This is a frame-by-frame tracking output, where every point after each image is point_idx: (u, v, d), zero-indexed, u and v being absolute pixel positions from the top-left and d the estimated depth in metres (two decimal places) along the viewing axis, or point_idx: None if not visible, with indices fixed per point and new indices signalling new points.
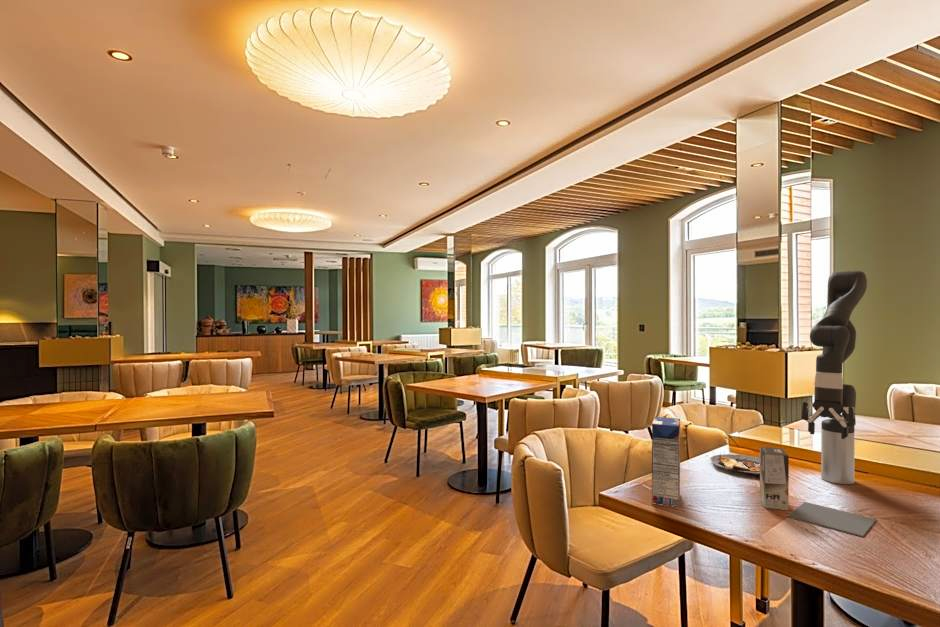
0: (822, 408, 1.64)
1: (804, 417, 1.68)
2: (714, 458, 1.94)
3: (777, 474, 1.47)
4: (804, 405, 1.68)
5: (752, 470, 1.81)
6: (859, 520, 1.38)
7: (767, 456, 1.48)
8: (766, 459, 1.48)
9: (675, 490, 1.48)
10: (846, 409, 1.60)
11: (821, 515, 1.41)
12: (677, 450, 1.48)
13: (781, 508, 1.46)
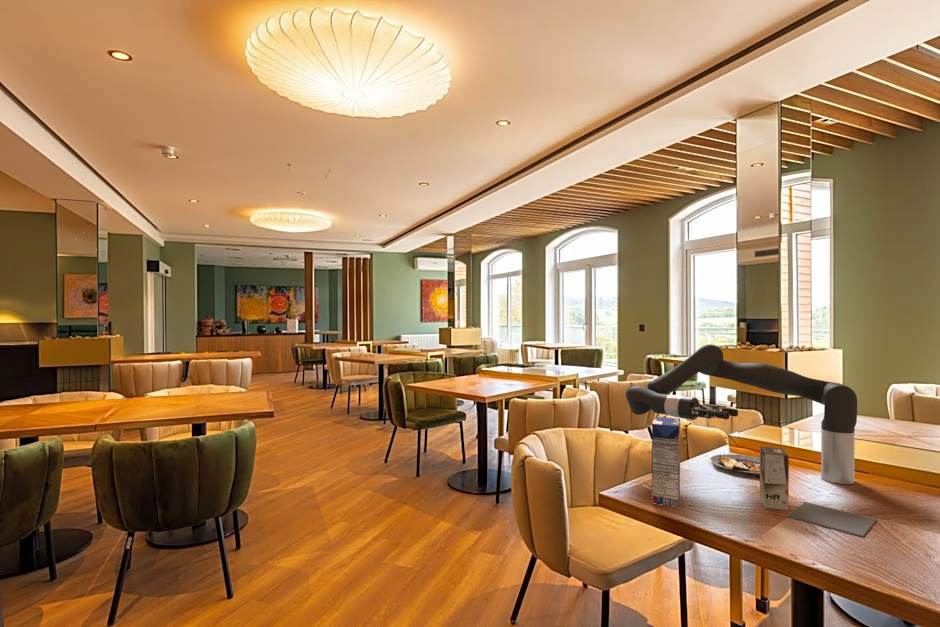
0: None
1: None
2: (714, 458, 1.94)
3: (777, 474, 1.47)
4: None
5: (752, 470, 1.81)
6: (859, 520, 1.38)
7: (767, 456, 1.48)
8: (766, 459, 1.48)
9: (675, 490, 1.48)
10: None
11: (821, 515, 1.41)
12: (677, 450, 1.48)
13: (781, 508, 1.46)
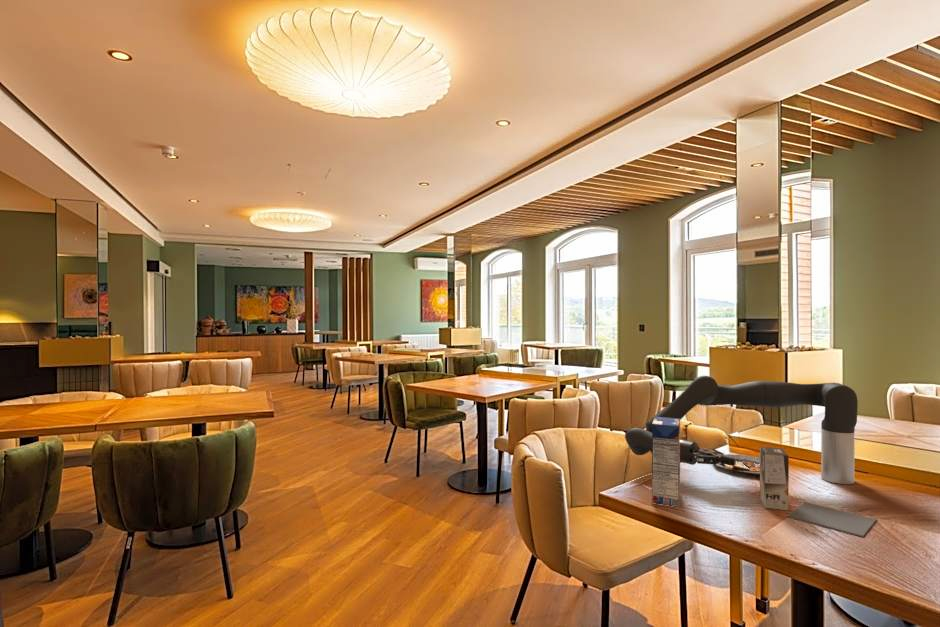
0: None
1: None
2: None
3: (777, 474, 1.47)
4: None
5: (752, 470, 1.81)
6: (859, 520, 1.38)
7: (767, 456, 1.48)
8: (766, 459, 1.48)
9: (675, 490, 1.48)
10: None
11: (821, 515, 1.41)
12: (677, 450, 1.48)
13: (781, 508, 1.46)
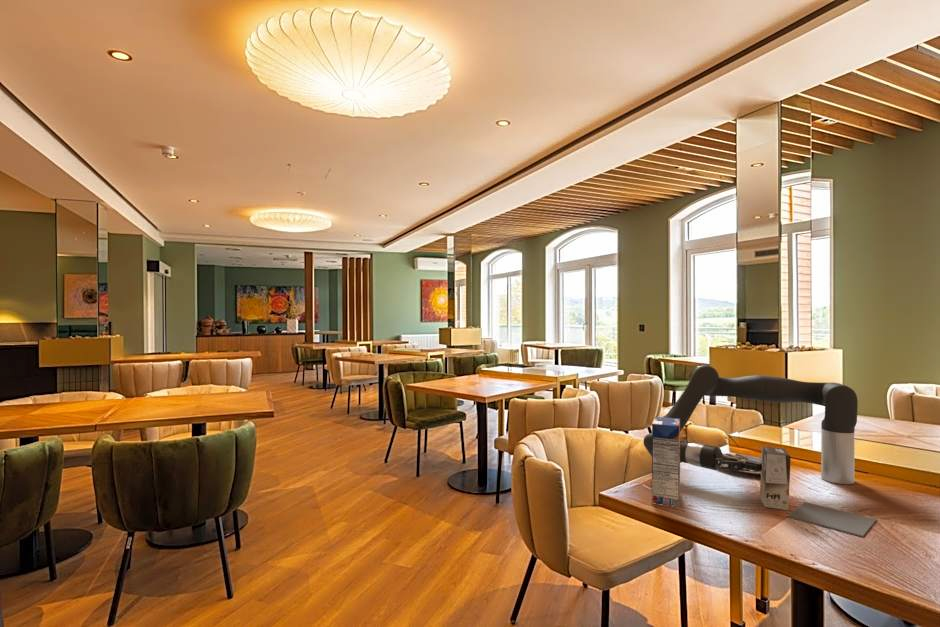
0: None
1: None
2: None
3: (778, 474, 1.47)
4: None
5: (752, 470, 1.81)
6: (859, 520, 1.38)
7: (769, 455, 1.48)
8: (768, 459, 1.48)
9: (675, 490, 1.48)
10: None
11: (821, 515, 1.41)
12: (677, 450, 1.48)
13: (781, 508, 1.46)
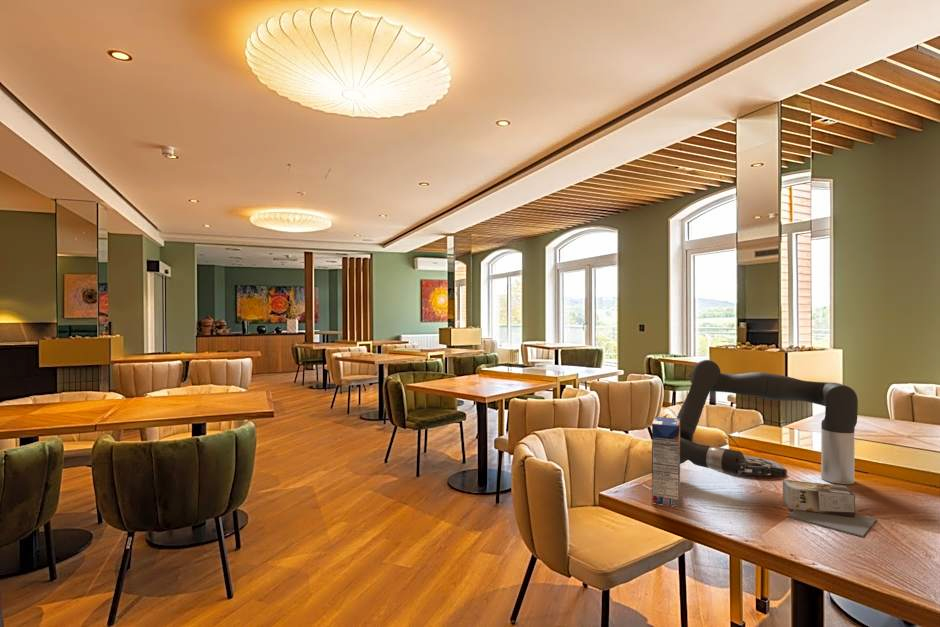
0: None
1: None
2: None
3: (830, 504, 1.42)
4: None
5: None
6: (859, 520, 1.38)
7: (852, 497, 1.40)
8: (847, 495, 1.40)
9: (675, 490, 1.48)
10: None
11: (821, 515, 1.41)
12: (677, 450, 1.48)
13: (790, 503, 1.45)
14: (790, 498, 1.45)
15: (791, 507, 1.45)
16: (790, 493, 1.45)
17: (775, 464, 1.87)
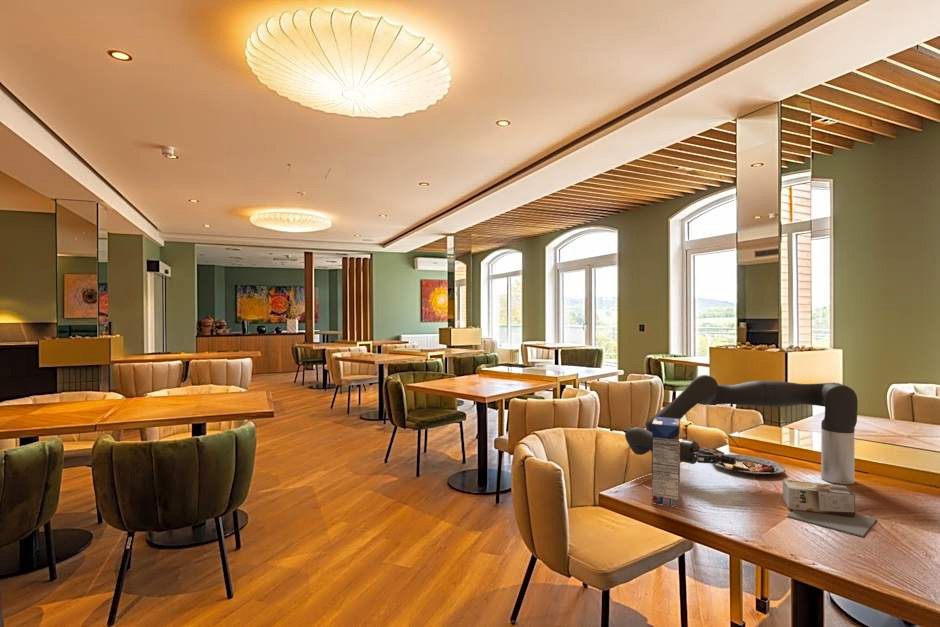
0: None
1: None
2: None
3: (830, 504, 1.42)
4: None
5: (752, 470, 1.81)
6: (859, 520, 1.38)
7: (852, 497, 1.40)
8: (847, 495, 1.40)
9: (675, 490, 1.48)
10: None
11: (821, 515, 1.41)
12: (677, 450, 1.48)
13: (790, 503, 1.45)
14: (790, 498, 1.45)
15: (791, 507, 1.45)
16: (790, 493, 1.45)
17: (775, 464, 1.87)
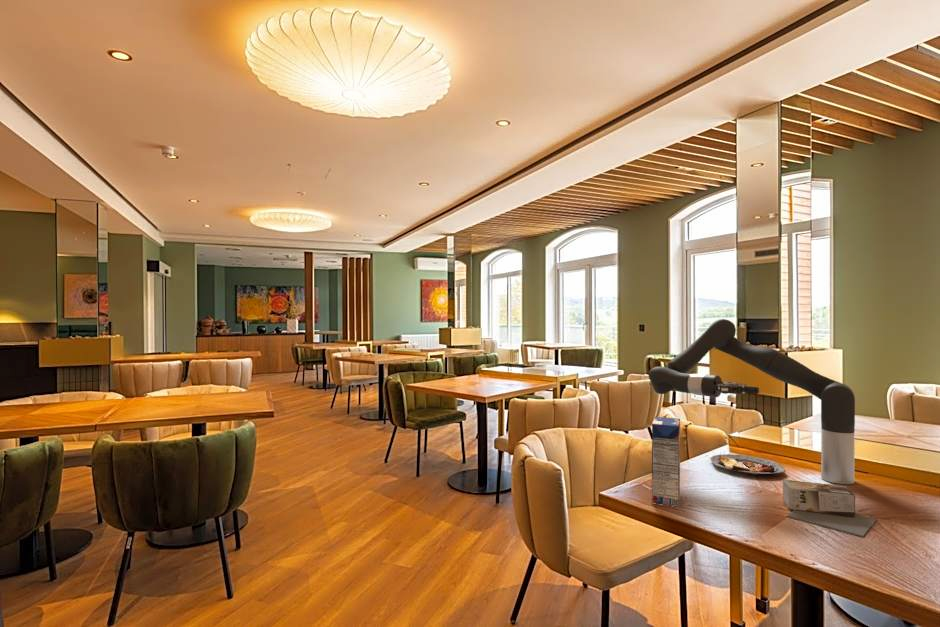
0: None
1: None
2: (714, 458, 1.94)
3: (830, 504, 1.42)
4: None
5: (752, 470, 1.81)
6: (859, 520, 1.38)
7: (852, 497, 1.40)
8: (847, 495, 1.40)
9: (675, 490, 1.48)
10: None
11: (821, 515, 1.41)
12: (677, 450, 1.48)
13: (790, 503, 1.45)
14: (790, 498, 1.45)
15: (791, 507, 1.45)
16: (790, 493, 1.45)
17: (775, 464, 1.87)
